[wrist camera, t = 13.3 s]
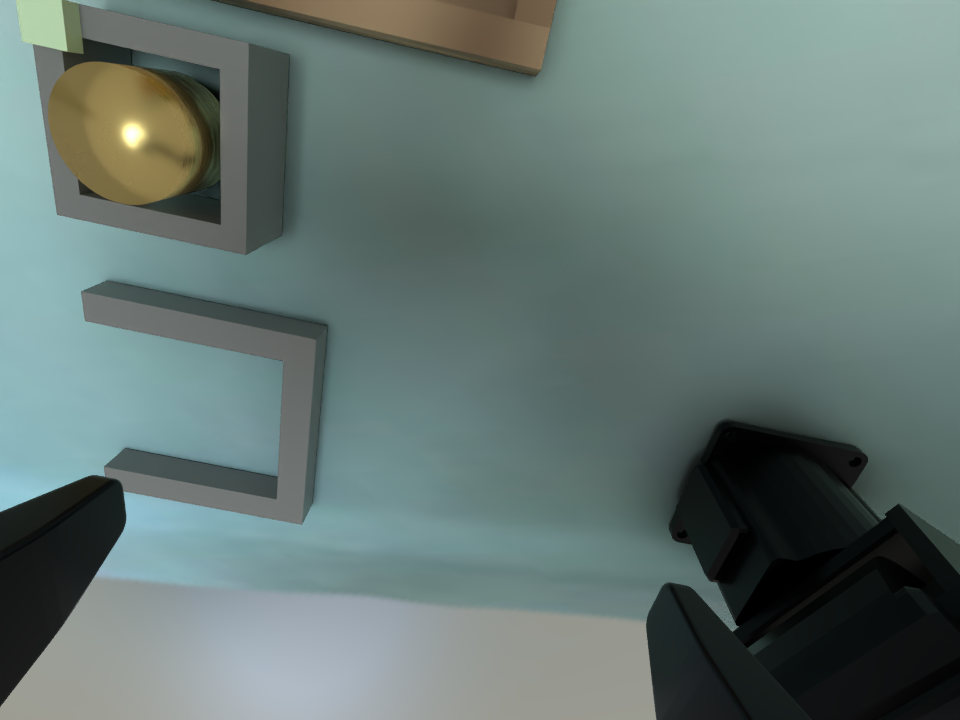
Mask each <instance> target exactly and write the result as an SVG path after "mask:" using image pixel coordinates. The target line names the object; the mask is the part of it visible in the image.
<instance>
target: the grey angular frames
mask: <svg viewBox="0 0 960 720" xmlns="http://www.w3.org/2000/svg"><path fill="white" fill-rule="evenodd" d="M16 4H17V11H18V18H19V25H20V31H21V38H22V42H27V43H31V44H33V48H34V55H35V62H36V69H37V76H38V84H39V91H40V98H41V105H42V112H43V119H44V126H45V133H46V140H47V147H48V154H49V161H50V168H51V175H52V182H53V189H54V197H55V204H56V211H57V215H60V216H65V217H70V218H74V219H79V220H84V221H89V222H93V223H98V224H103V225H107V226H112V227H117V228H122V229H126V230H131V231H136V232H140V233H145V234H150V235H155V236H159V237H164V238H169V239H174V240H178V241H183V242H188V243H192V244H197V245H202V246H207V247H211V248H216V249H221V250H225V251H230V252H235V253H240V254H244V255H247V254H248V253H250V252H252V251H254V250H256V249H258V248H259V247H261V246H263V245H265V244H267V243H269V242H271V241H272V240H274V239H276V238H278V237H280V236H282V219H283V195H284V172H285V148H286V124H287V101H288V77H289V54H286V53H282V52H278V51H275V50H271V49H268V48H264V47H260V46H257V45H253V44H249V43H245V42H241V41H237V40H232V39H228V38H224V37H219V36H215V35H211V34H206V33H202V32H198V31H194V30H189V29H185V28H181V27H176V26H172V25H168V24H163V23H159V22H155V21H150V20H146V19H142V18H137V17H133V16H129V15H125V14H120V13H116V12H112V11H107V10H103V9H99V8H94V7H90V6H86V5H81V4H77V3H73V2H69V1H66V0H16ZM131 49H133V50H138V51H142V52H147V53H151V54H155V55H160V56H164V57H168V58H173V59H177V60H182V61H186V62H190V63H195V64H199V65H203V66H208V67H212V68H217V69H220V163H221V201H220V200H216V199H211V198H206V197H202V196H197V195H193V194H184V195H180V196H176V197H172V198H168V199H164V200H160V201H156V202H152V203H148V204H142V205H127V204H121V203H117V202H114V201H111V200H109V199H106V198H104V197H102V196H100V195H99V194H97V193H95V192H94V191H92V190H91V189H89V188H88V187H87V186H86V185H84V184H83V183H82V182H81V181H80V180H79V179H78V178H77V177H76V176H75V175H74V174H73V173H72V172H71V170H70V169H69V168H68V167H67V165H66V164H65V162H64V161H63V159H62V158H61V156H60V154H59V152H58V150H57V148H56V146H55V144H54V141H53V138H52V135H51V132H50V127H49V121H48V103H49V98H50V94H51V92H52V89H53V87H54V85H55V83H56V81H57V80H58V79H59V77H60V76H61V75H62V74H63V73H64V72H66V71H67V70H68V69H70V68H71V67H73V66H75V65H78V64H81V63H85V62H107V63H115V64H122V65H130V66H132V61H131ZM81 294H82V302H83V310H84V317H85V321H87V322H92V323H97V324H102V325H107V326H112V327H117V328H122V329H127V330H132V331H137V332H142V333H147V334H152V335H157V336H162V337H166V338H171V339H176V340H181V341H186V342H191V343H196V344H201V345H206V346H211V347H216V348H221V349H226V350H231V351H236V352H241V353H245V354H250V355H255V356H260V357H265V358H270V359H275V360H280V361H284V363H283V383H282V404H281V424H280V444H279V465H278V478H277V477H272V476H267V475H262V474H256V473H251V472H246V471H241V470H236V469H230V468H225V467H220V466H215V465H209V464H204V463H199V462H194V461H189V460H183V459H178V458H173V457H168V456H162V455H157V454H152V453H147V452H141V451H136V450H131V449H126V448H125V449H124V450H122V451H121V452H120V453H119V454H118V455H117V456H116V457H115V458H113V459H112V460H111V461H110V462H109V463H108V464H107V465H105V466H104V471H105V477H109V478H114V479H117V480H119V481H120V482H121V483H122V486H123V491H125V492H130V493H136V494H141V495H146V496H152V497H157V498H162V499H168V500H173V501H178V502H184V503H189V504H194V505H200V506H205V507H210V508H216V509H221V510H226V511H232V512H237V513H242V514H248V515H253V516H258V517H264V518H269V519H274V520H280V521H285V522H290V523H296V524H301V525H302V524H303V522H304V520H305V518H306V516H307V514H308V512H309V509H310V507H311V505H312V501H313V489H314V478H315V466H316V455H317V443H318V432H319V420H320V409H321V398H322V386H323V375H324V363H325V352H326V340H327V329H328V326H324V325H319V324H315V323H310V322H305V321H300V320H295V319H290V318H286V317H281V316H276V315H271V314H266V313H261V312H256V311H252V310H247V309H242V308H237V307H232V306H227V305H223V304H218V303H213V302H208V301H203V300H198V299H194V298H189V297H184V296H179V295H174V294H169V293H165V292H160V291H155V290H150V289H145V288H140V287H136V286H131V285H126V284H121V283H116V282H111V281H105V282H103V283H100V284H98V285H95V286H93V287H91V288H88V289H86V290H84V291H81Z"/></svg>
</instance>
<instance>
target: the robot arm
mask: <svg viewBox="0 0 960 720" xmlns="http://www.w3.org/2000/svg"><path fill="white" fill-rule="evenodd" d="M729 432H733V434H732V435H731V436H728V437H725V435H726V434H727V433H729ZM852 458H855V459H854V460H852V461H850V460H851V459H852ZM867 462H868V457H867V456H866V455H865V454H864V453H863V452H862V451H861V450H860V449H859V448H856V447H853V446H848V445H843V444H838V443H833V442H828V441H823V440H818V439H814V438H809V437H804V436H799V435H794V434H789V433H784V432H780V431H775V430H770V429H765V428H760V427H755V426H750V425H745V424H741V423H736V422H725V423H722V424H721V425H719V426H718V428H717V429H716V431H715V433H714V435H713V437H712V439H711V441H710V443H709V446H708V448H707V450H706V452H705V454H704V456H703V458H702V460H701V462H700V463H699V464H698V465H697V466H696V467H695V469H694V471H693V473H692V475H691V477H690V479H689V482H688V484H687V486H686V488H685V490H684V492H683V494H682V496H681V498H680V500H679V502H678V505H677V507H676V508H677V512H676V514H675V516H674V518H673V520H672V523H671V525H670V528H669V530H670V533H671V536H672V538H673V539H674V540H675V541H677V542H681V543H686V544H691V545H692V546H693V548H694V550H695V552H696V555H697V557H698V559H699V562H700V564H701V566H702V569H703V571H704V573H705V575H706V577H707V578H708V580H709V581H711V582H717V584H718V586H719V588H720V591H721V593H722V595H723V597H724V599H725V602H726V604H727V606H728V608H729V610H730V613H731V615H732V617H733V619H734V621H735V623H736V625H737V626H739V627H738V628H737V629H735V630H734V631H733V632H732V631H731V630H730V629H729V628H728V627H727V626H726V625H725V624H724V623H723V621H722V620H721V619H720V618H719V617H718V616H717V615H716V614H715V613H714V612H713V610H712V609H711V608H710V607H709V606H708V605H707V604H706V603H705V602H704V601H703V600H702V598H701V597H700V596H699V595H698V594H697V593H696V592H695V591H694V590H693V589H692V588H691V587H689V586H685V585H680V584H675V583H666V584H664V585H663V586H662V588H661V590H660V592H659V593H658V595H657V597H656V599H655V601H654V603H653V605H652V607H651V609H650V611H649V614H648V617H647V622H646V629H647V639H648V649H649V658H650V667H651V676H652V685H653V695H654V704H655V712H656V719H657V720H960V545H959V544H958V543H956V542H955V541H953V540H952V539H950V538H949V537H947V536H946V535H944V534H943V533H942V532H940V531H939V530H937V529H936V528H934V527H933V526H931V525H930V524H928V523H927V522H926V521H924V520H923V519H921V518H920V517H918V516H917V515H915V514H914V513H912V512H911V511H910V510H908V509H907V508H905V507H904V506H902V505H901V504H897V505H896V506H895V507H893V508H892V509H891V510H889V511H888V512H887V513H885V515H886V516H887V517H886V518H885V519H883V520H881V519H880V518H879V517H878V516H877V515H876V514H875V513H874V512H873V510H872V509H871V508H870V507H869V506H868V505H867V504H866V503H865V502H864V501H863V500H862V499H861V498H860V496H859V495H858V494H857V493H856V492H855V491H854V490H853V489H852V488H851V487H852V486H853V484H854V483H855V481H856V480H857V478H858V477H859V475H860V474H861V472H862V471H863V469H864V467H865V466H866V464H867ZM125 524H126V510H125V501H124V493H123V486H122V483H121V482H120V481H119V480H117V479H114V478H109V477H104V476H98V475H91V476H88V477H85V478H82V479H80V480H77V481H75V482H73V483H70V484H68V485H65V486H63V487H60V488H58V489H55V490H53V491H51V492H48V493H46V494H43V495H41V496H38V497H36V498H33V499H31V500H28V501H26V502H24V503H21V504H19V505H16V506H14V507H11V508H9V509H6V510H4V511H2V512H0V706H1V705H2V704H3V703H4V701H5V700H6V699H7V697H8V696H9V695H10V693H11V692H12V691H13V690H14V688H15V687H16V686H17V684H18V683H19V682H20V680H21V679H22V678H23V677H24V675H25V674H26V673H27V671H28V670H29V669H30V668H31V666H32V665H33V663H34V662H35V661H36V660H37V659H38V657H39V656H40V655H41V653H42V652H43V651H44V650H45V648H46V647H47V646H48V644H49V643H50V642H51V640H52V639H53V638H54V636H55V635H56V634H57V632H58V631H59V629H60V628H61V627H62V626H63V624H64V623H65V621H66V620H67V618H68V617H69V615H70V614H71V612H72V611H73V609H74V608H75V606H76V605H77V603H78V602H79V600H80V598H81V597H82V595H83V594H84V592H85V590H86V589H87V587H88V586H89V584H90V583H91V581H92V579H93V578H94V576H95V575H96V573H97V572H98V570H99V568H100V567H101V565H102V564H103V562H104V561H105V559H106V557H107V556H108V554H109V553H110V551H111V549H112V548H113V546H114V545H115V543H116V542H117V540H118V538H119V537H120V535H121V533H122V532H123V529H124V527H125ZM681 530H684V531H682V532H679V531H681Z"/></svg>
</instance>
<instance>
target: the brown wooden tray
mask: <svg viewBox="0 0 960 720" xmlns="http://www.w3.org/2000/svg"><path fill="white" fill-rule="evenodd" d="M212 1H216V2H221V3H225V4H229V5H233V6H238V7H242V8H246V9H250V10H255V11H259V12H263V13H267V14H272V15H276V16H280V17H284V18H289V19H293V20H297V21H301V22H306V23H310V24H314V25H318V26H323V27H327V28H331V29H336V30H340V31H344V32H348V33H353V34H357V35H361V36H365V37H370V38H374V39H378V40H382V41H387V42H391V43H395V44H399V45H404V46H408V47H412V48H416V49H421V50H425V51H429V52H433V53H438V54H442V55H446V56H450V57H455V58H459V59H463V60H467V61H472V62H476V63H480V64H484V65H489V66H493V67H497V68H501V69H506V70H510V71H514V72H518V73H523V74H527V75H531V76H535V77H536V75H537V74H538V73H539V72H540V71H541V68H542V63H543V59H544V54H545V50H546V46H547V41H548V37H549V32H550V28H551V23H552V19H553V15H554V10H555V6H556V1H557V0H212Z"/></svg>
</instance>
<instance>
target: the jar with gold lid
mask: <svg viewBox="0 0 960 720" xmlns="http://www.w3.org/2000/svg"><path fill="white" fill-rule="evenodd" d="M48 121H49V127H50V132H51V135H52V138H53V141H54V144H55V146H56V148H57V150H58V152H59V154H60V156H61V158H62V159H63V161H64V162H65V164H66V165H67V167H68V168H69V169H70V170H71V172H72V173H73V174H74V175H75V176H76V177H77V178H78V179H79V180H80V181H81V182H82V183H83V184H84V185H86V186H87V187H88V188H89V189H91V190H92V191H94V192H95V193H97V194H99V195H100V196H102V197H104V198H106V199H109V200H111V201H114V202H117V203H121V204H127V205H142V204H148V203H152V202H156V201H160V200H164V199H168V198H172V197H176V196H180V195H184V194H188V193H191V192H195V191H199V190H203V189H207V188H209V187H211V186H213V185H214V184H216V183H217V182H218V181H219V180H220V179H221V163H220V103H219V102H218V101H217V99H216V98H215V97H214V96H213V94H212V93H211V92H210V91H209V90H208V89H207V88H205V87H204V86H203V85H202V84H200V83H199V82H198V81H196V80H194V79H193V78H191V77H189V76H187V75H184V74H182V73H178V72H175V71H168V70H161V69H153V68H145V67H138V66H130V65H122V64H115V63H107V62H85V63H81V64H78V65H75V66H73V67H71V68H70V69H68V70H67V71H66V72H64V73H63V74H62V75H61V76H60V77H59V79H58V80H57V81H56V83H55V85H54V87H53V89H52V92H51V94H50V98H49V103H48Z"/></svg>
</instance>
